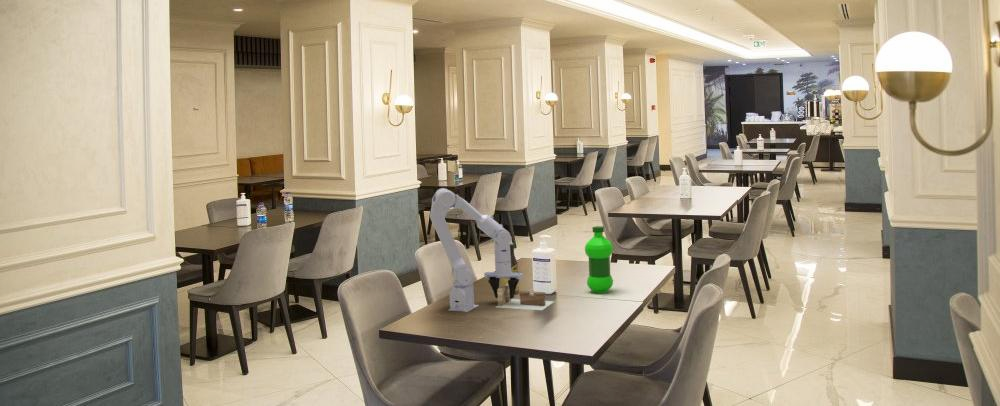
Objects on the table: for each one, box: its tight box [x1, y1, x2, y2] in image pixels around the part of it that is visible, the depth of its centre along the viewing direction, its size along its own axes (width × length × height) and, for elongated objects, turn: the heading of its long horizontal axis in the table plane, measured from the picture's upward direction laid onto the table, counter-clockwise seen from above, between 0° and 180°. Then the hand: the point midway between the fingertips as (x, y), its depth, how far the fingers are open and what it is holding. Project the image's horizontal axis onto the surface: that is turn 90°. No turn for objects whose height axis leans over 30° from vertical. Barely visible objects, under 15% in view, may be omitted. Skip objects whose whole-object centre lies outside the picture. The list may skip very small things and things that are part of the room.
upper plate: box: [497, 284, 511, 306], centre depth 275 cm, size 8×2×6 cm, turn 156°
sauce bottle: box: [501, 242, 520, 296], centre depth 290 cm, size 7×6×20 cm
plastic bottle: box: [584, 225, 614, 294], centre depth 287 cm, size 10×10×25 cm
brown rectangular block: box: [519, 290, 546, 306], centre depth 271 cm, size 2×9×4 cm, turn 66°
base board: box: [495, 298, 556, 311], centre depth 272 cm, size 13×18×1 cm
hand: (504, 297), depth 275 cm, fingers open, 5 cm apart
